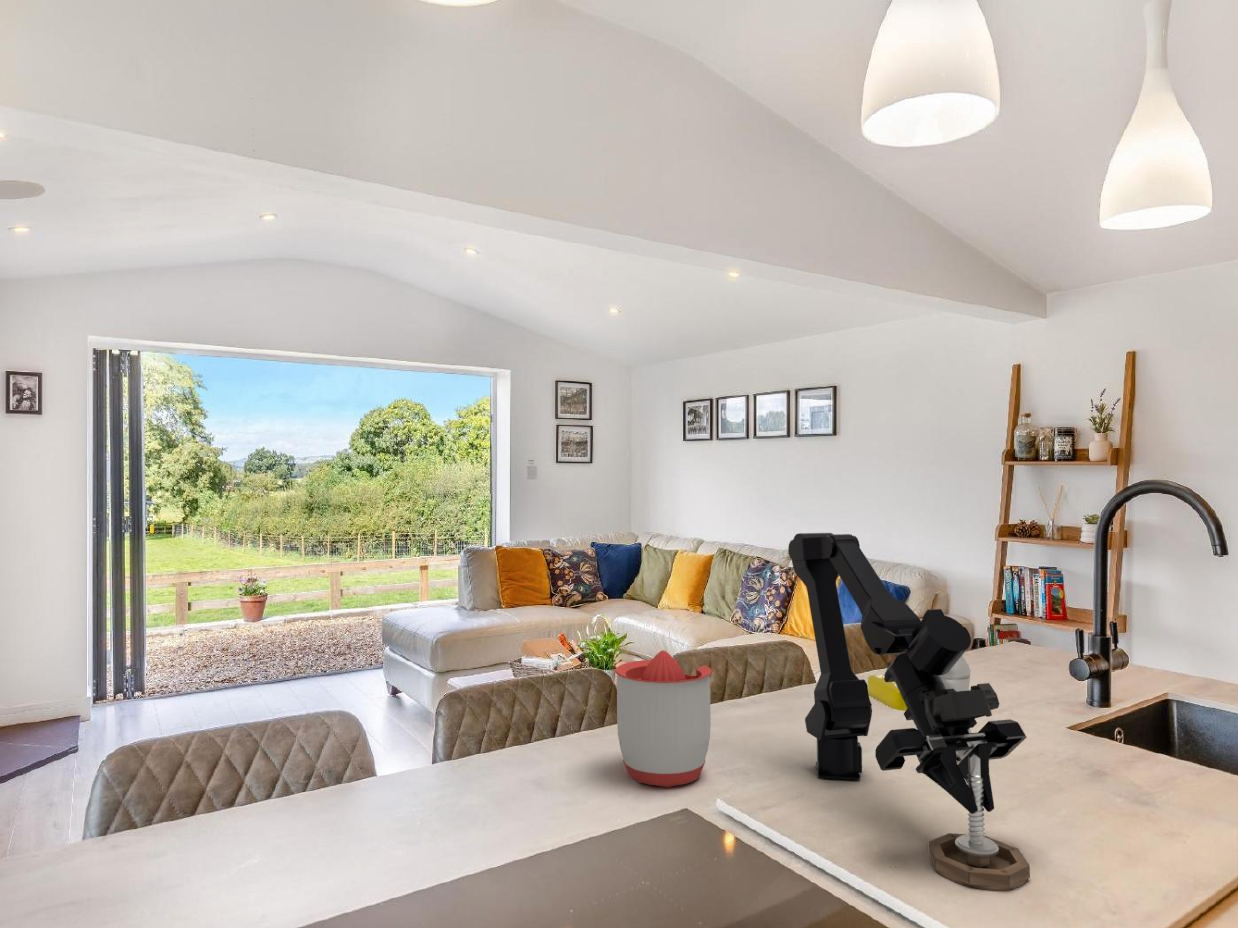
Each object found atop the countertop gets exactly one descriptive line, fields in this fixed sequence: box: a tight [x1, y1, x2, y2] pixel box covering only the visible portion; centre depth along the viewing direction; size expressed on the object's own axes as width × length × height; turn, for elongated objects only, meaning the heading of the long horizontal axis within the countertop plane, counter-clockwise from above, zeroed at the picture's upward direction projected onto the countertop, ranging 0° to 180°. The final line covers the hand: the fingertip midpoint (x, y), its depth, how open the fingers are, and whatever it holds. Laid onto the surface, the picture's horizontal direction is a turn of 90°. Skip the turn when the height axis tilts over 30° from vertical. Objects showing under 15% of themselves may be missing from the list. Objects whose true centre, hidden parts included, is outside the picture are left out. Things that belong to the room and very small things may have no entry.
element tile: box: [867, 674, 908, 712], centre depth 171 cm, size 15×15×5 cm
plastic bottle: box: [940, 655, 972, 759], centre depth 135 cm, size 6×7×20 cm
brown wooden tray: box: [928, 832, 1031, 892], centre depth 95 cm, size 11×11×2 cm
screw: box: [955, 754, 999, 868], centre depth 95 cm, size 13×5×5 cm
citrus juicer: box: [614, 650, 713, 789], centre depth 127 cm, size 16×17×20 cm
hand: (983, 811), depth 94 cm, fingers closed on screw, 2 cm apart
